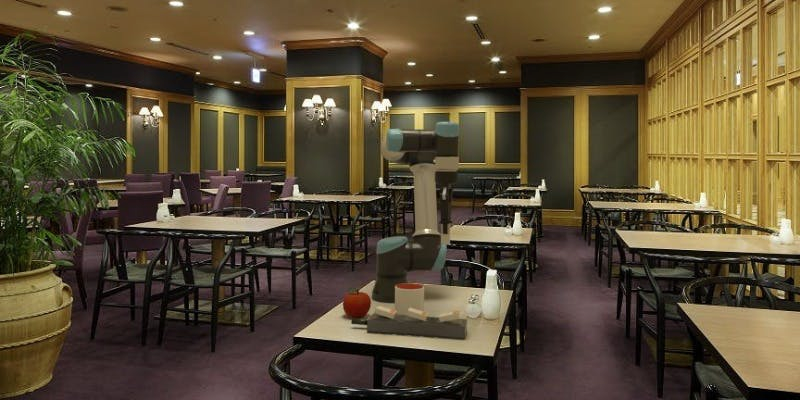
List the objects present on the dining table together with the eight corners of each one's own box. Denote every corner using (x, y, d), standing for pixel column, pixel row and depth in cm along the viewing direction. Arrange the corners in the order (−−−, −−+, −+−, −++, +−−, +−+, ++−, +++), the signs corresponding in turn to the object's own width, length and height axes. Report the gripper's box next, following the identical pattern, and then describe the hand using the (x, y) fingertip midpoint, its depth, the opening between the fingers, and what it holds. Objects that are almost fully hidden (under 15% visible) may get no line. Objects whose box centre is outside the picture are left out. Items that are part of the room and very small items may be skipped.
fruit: (369, 320, 193) (369, 291, 193) (340, 320, 194) (340, 290, 193) (372, 313, 203) (372, 284, 202) (344, 312, 203) (345, 284, 203)
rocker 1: (377, 310, 185) (379, 305, 185) (395, 315, 184) (396, 310, 184) (374, 313, 182) (376, 307, 181) (393, 318, 181) (394, 313, 180)
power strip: (355, 324, 189) (355, 311, 189) (467, 331, 182) (467, 318, 182) (348, 331, 181) (348, 318, 181) (464, 339, 174) (465, 325, 174)
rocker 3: (441, 318, 181) (440, 313, 181) (460, 315, 180) (459, 310, 180) (440, 322, 178) (438, 316, 178) (459, 318, 176) (458, 313, 176)
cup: (421, 319, 195) (421, 290, 194) (391, 317, 197) (392, 288, 196) (425, 312, 205) (426, 284, 204) (398, 310, 207) (398, 282, 206)
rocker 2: (408, 312, 183) (410, 307, 183) (427, 317, 182) (428, 312, 182) (406, 315, 180) (407, 309, 179) (425, 321, 179) (426, 315, 178)
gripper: (437, 169, 194) (436, 240, 196) (432, 170, 181) (430, 246, 183) (460, 170, 192) (458, 241, 194) (456, 171, 180) (454, 247, 181)
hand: (445, 243), depth 189 cm, fingers closed
